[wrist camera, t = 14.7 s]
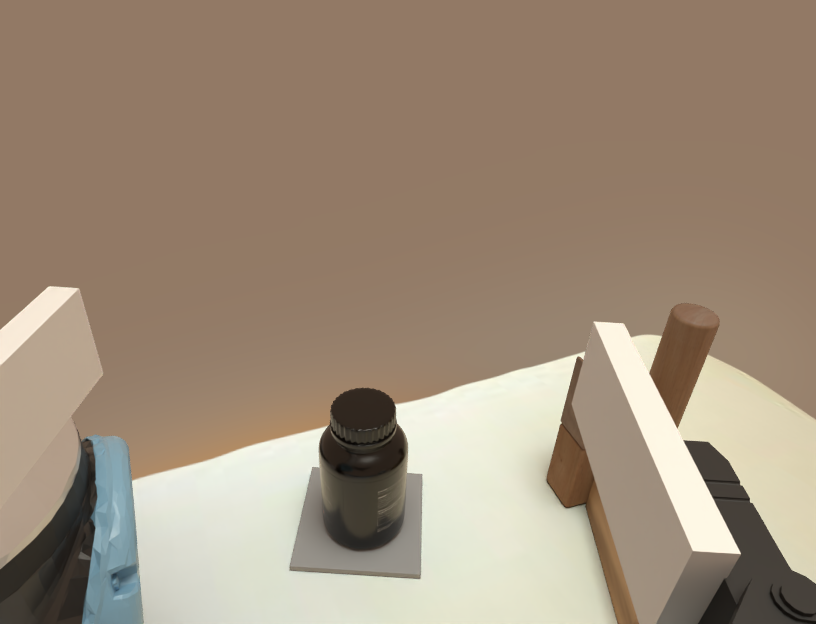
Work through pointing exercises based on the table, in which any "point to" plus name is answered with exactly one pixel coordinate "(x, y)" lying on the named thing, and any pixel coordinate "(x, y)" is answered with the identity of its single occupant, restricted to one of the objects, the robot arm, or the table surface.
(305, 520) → the felt pad
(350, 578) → the table surface
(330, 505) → the supplement bottle
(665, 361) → the wooden block
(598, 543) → the plane block
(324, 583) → the table surface
